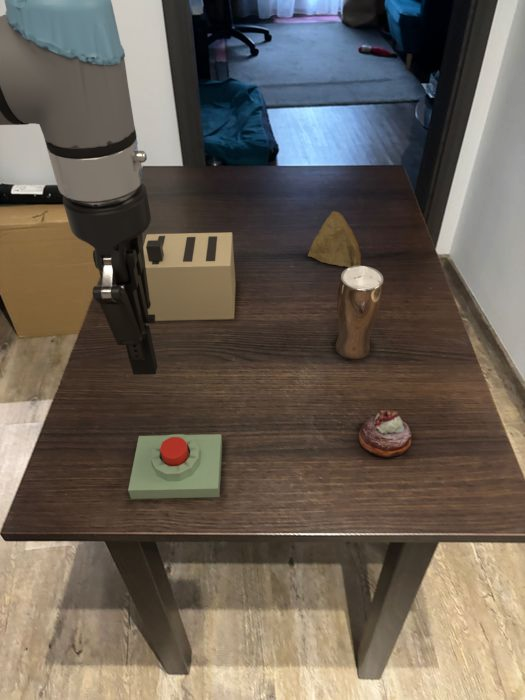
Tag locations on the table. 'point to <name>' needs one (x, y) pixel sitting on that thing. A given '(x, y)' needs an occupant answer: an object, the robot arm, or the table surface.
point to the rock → (336, 243)
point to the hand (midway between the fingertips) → (145, 370)
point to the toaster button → (155, 250)
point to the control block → (177, 469)
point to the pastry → (385, 435)
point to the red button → (174, 451)
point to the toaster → (192, 277)
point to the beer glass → (357, 310)
